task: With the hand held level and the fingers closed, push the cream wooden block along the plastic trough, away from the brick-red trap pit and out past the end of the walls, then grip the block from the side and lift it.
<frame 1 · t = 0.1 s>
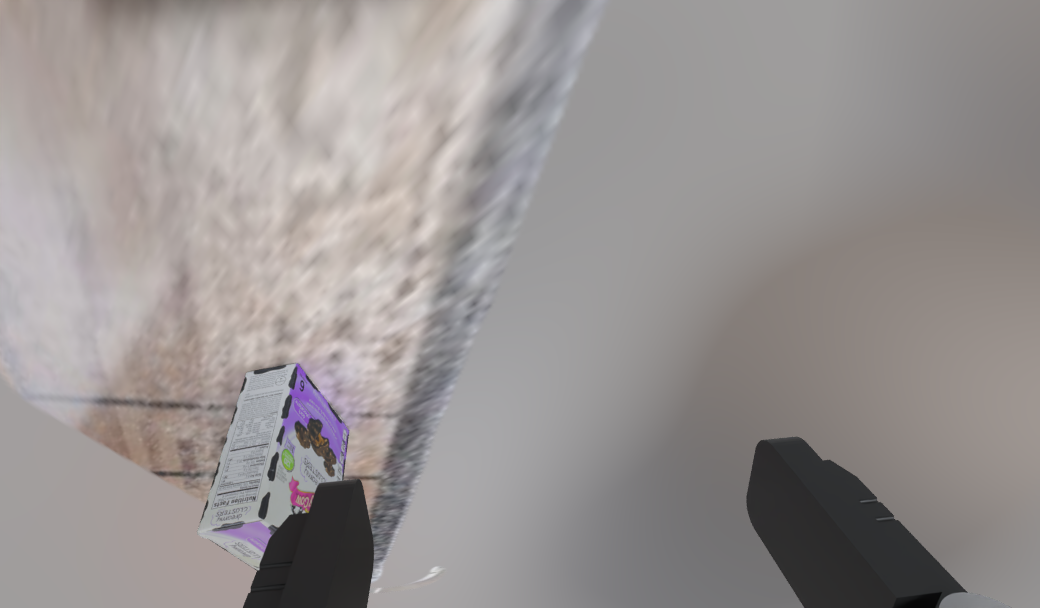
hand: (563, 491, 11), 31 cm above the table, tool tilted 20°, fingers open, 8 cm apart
candy box: (301, 402, 59), on the table
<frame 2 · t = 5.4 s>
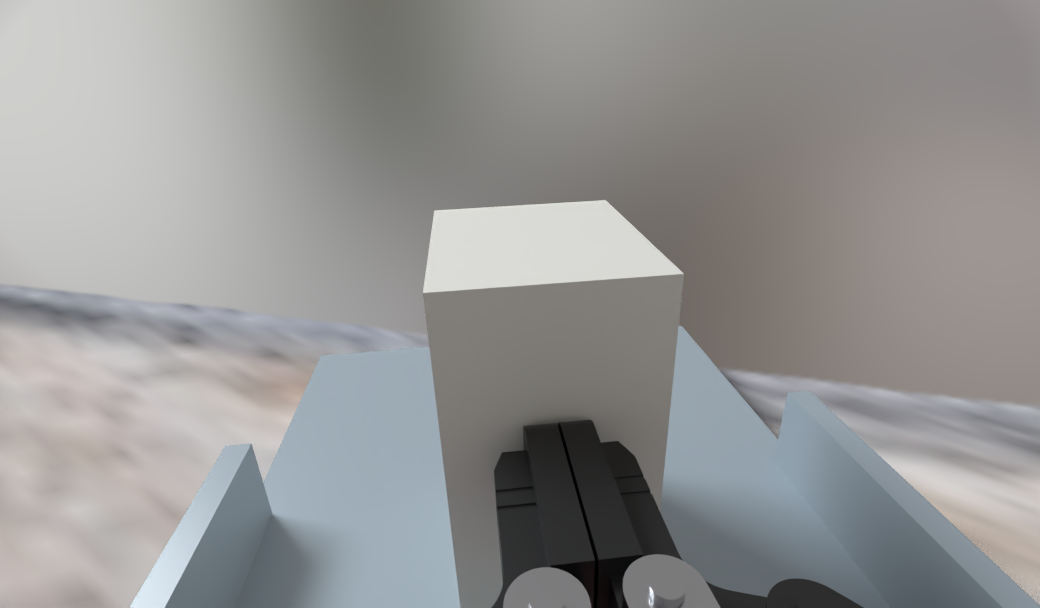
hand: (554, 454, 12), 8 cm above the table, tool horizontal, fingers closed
cream block: (541, 538, 17), point 2 cm above the table
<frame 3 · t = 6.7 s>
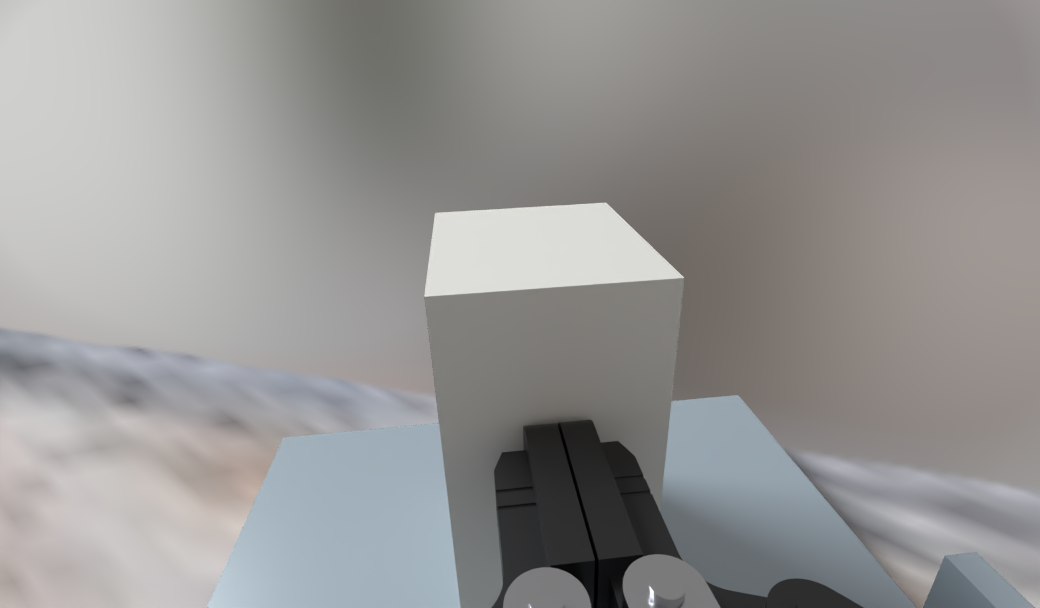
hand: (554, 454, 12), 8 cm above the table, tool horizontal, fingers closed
cream block: (541, 540, 17), point 2 cm above the table, touching trough
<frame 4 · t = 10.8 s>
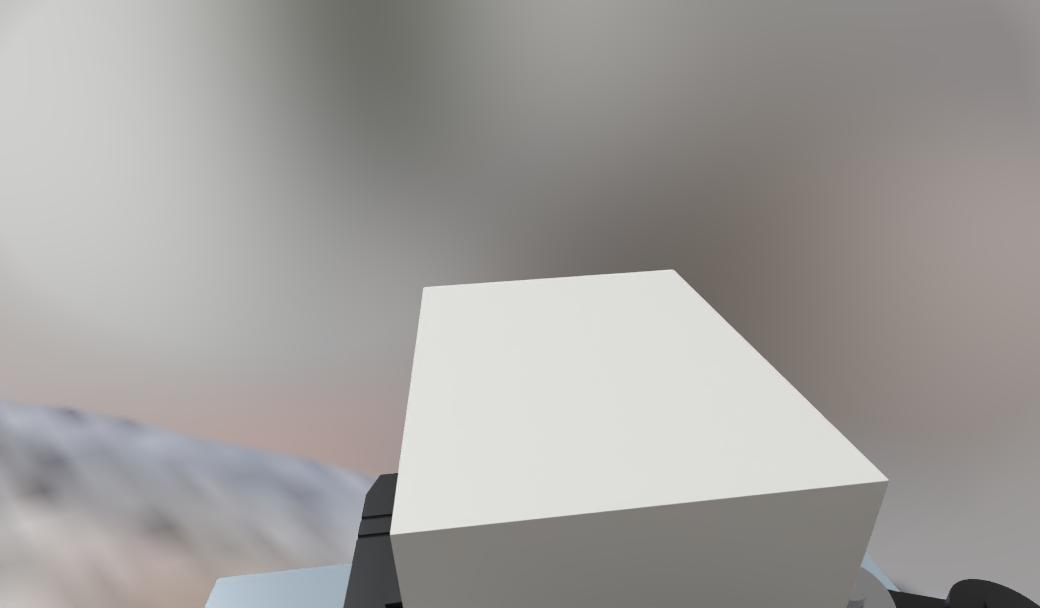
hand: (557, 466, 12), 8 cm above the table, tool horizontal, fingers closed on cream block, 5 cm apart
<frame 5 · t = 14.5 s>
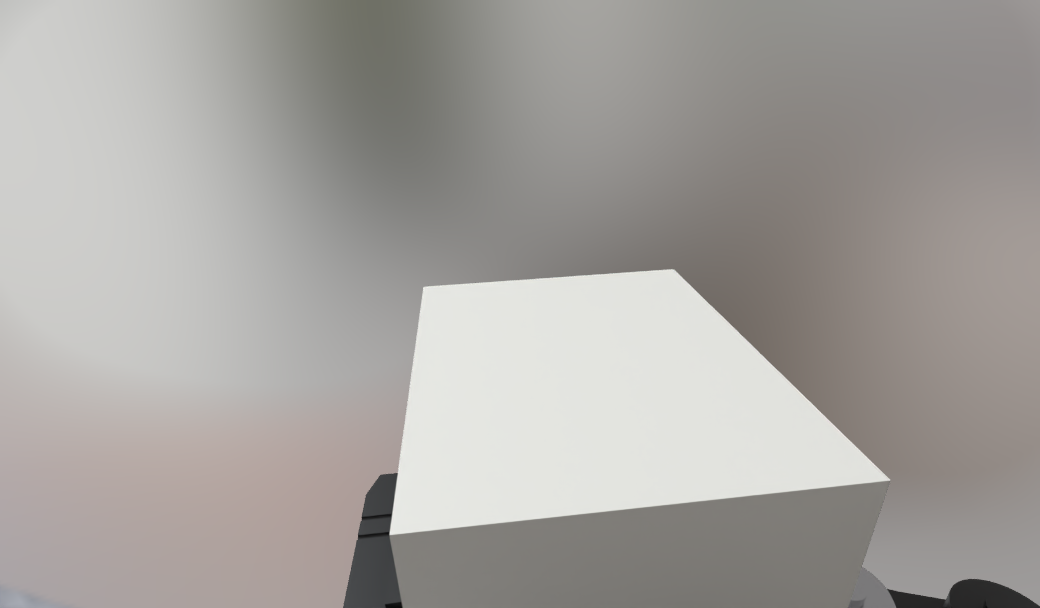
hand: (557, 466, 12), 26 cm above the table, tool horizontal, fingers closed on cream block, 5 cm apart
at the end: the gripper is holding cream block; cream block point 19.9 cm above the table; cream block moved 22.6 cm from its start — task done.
